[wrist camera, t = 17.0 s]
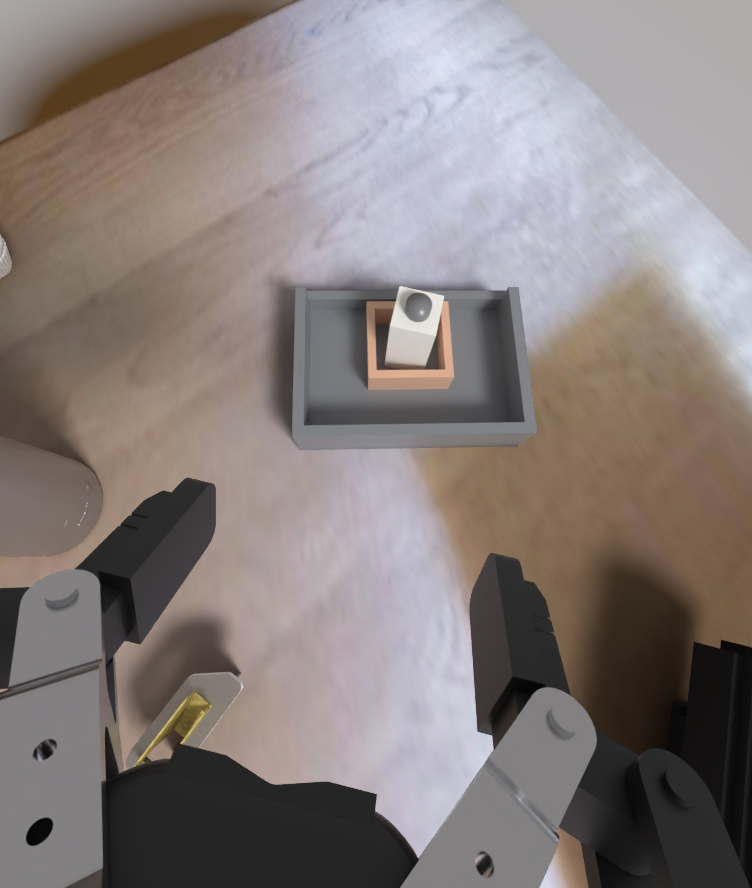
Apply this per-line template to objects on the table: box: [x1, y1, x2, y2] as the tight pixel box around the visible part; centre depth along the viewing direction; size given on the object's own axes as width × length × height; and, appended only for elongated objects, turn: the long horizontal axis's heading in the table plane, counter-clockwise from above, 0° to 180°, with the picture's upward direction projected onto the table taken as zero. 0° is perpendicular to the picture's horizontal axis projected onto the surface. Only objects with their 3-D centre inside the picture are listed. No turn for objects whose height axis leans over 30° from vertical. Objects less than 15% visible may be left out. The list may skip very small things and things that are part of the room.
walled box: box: [292, 287, 537, 450], centre depth 42 cm, size 22×16×5 cm
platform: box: [126, 672, 243, 769], centre depth 33 cm, size 12×18×7 cm, turn 143°
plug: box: [384, 286, 444, 370], centre depth 40 cm, size 4×4×9 cm
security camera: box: [667, 640, 752, 888], centre depth 32 cm, size 7×18×10 cm, turn 162°
